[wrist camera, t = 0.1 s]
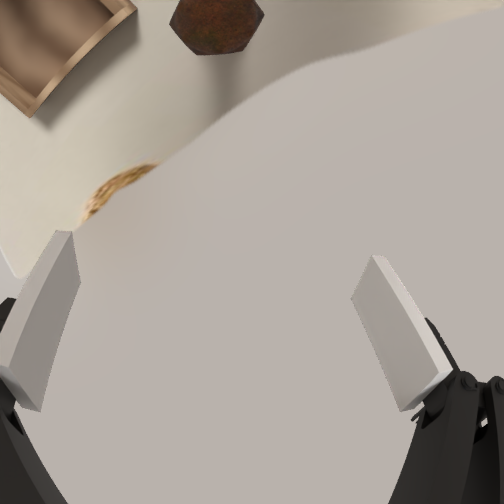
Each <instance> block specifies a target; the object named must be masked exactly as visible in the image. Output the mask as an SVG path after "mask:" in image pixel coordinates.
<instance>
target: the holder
mask: <svg viewBox="0 0 504 504" xmlns="http://www.w3.org/2000/svg"><path fill="white" fill-rule="evenodd" d="M135 10H137V7H136V6H135V5H134V4H133V3H132V2H131V1H130V0H0V93H1V94H2V95H3V96H4V97H5V98H7V99H8V100H9V101H10V102H11V103H12V104H13V105H15V106H16V107H17V108H18V109H19V110H20V111H22V112H23V113H24V114H25V115H26V116H27V117H29V118H31V117H32V115H33V114H34V113H35V112H36V110H37V109H38V108H39V107H40V106H41V105H42V103H43V102H44V101H45V100H46V98H47V97H48V96H49V95H50V94H51V92H52V91H53V90H54V89H55V88H56V87H57V85H58V84H59V83H60V82H61V81H62V80H63V79H64V77H65V76H66V75H67V74H68V73H69V72H70V71H71V70H72V69H73V68H74V67H75V66H76V65H77V64H78V62H79V61H80V60H81V59H82V58H83V57H84V56H85V55H86V54H87V53H88V52H89V51H90V50H91V49H92V48H93V47H94V46H96V45H97V44H98V43H99V42H100V41H101V40H102V39H103V38H104V37H105V36H106V35H107V34H108V33H110V32H111V31H112V30H113V29H114V28H115V27H116V26H117V25H119V24H120V23H121V22H122V21H123V20H124V19H126V18H127V17H128V16H129V15H131V14H132V13H133V12H134V11H135Z"/></svg>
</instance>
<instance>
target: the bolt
mask: <svg viewBox="0 0 504 504" xmlns="http://www.w3.org/2000/svg"><path fill="white" fill-rule="evenodd" d="M263 17H264V13H263V11H262V10H261V8H260V7H259V6H258V4H257V3H256V2H255V0H180V1H179V3H178V5H177V7H176V10H175V12H174V14H173V16H172V18H171V21H170V23H169V25H170V26H171V28H172V29H173V30H174V32H175V33H176V34H177V35H178V37H179V38H180V39H181V40H182V41H183V42H184V44H185V45H186V46H187V47H188V48H189V49H190V50H191V51H193V52H194V53H195V54H196V55H218V54H229V53H235V52H240V51H243V50H244V48H245V47H246V46H247V44H248V43H249V41H250V39H251V38H252V36H253V35H254V33H255V32H256V30H257V28H258V26H259V25H260V23H261V21H262V19H263Z"/></svg>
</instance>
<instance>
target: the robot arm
mask: <svg viewBox="0 0 504 504" xmlns="http://www.w3.org/2000/svg"><path fill="white" fill-rule="evenodd" d="M80 283H81V281H80V276H79V271H78V265H77V260H76V254H75V248H74V242H73V235H72V231H58V230H56V231H55V233H54V234H53V236H52V238H51V239H50V241H49V242H48V244H47V246H46V247H45V249H44V251H43V252H42V254H41V256H40V257H39V259H38V261H37V262H36V264H35V266H34V268H33V269H32V271H31V273H30V275H29V277H28V278H27V280H26V282H25V284H24V286H23V288H22V290H21V292H20V294H19V296H18V298H17V299H14V298H7V299H6V300H5V301H3V303H1V304H0V504H68V503H67V502H66V500H65V499H64V497H63V496H62V494H61V493H60V492H59V490H58V488H57V487H56V485H55V484H54V482H53V480H52V479H51V477H50V476H49V474H48V472H47V471H46V469H45V467H44V465H43V464H42V462H41V460H40V458H39V457H38V455H37V453H36V451H35V449H34V448H33V446H32V444H31V442H30V440H29V438H28V436H27V434H26V432H25V430H24V427H23V425H22V423H21V421H20V419H19V417H18V415H17V412H16V411H15V409H14V405H15V401H17V402H18V403H19V404H20V406H21V407H22V408H26V409H30V410H34V411H38V412H40V411H41V407H42V403H43V399H44V394H45V391H46V387H47V383H48V379H49V376H50V372H51V368H52V365H53V361H54V358H55V355H56V351H57V348H58V345H59V342H60V339H61V336H62V333H63V330H64V327H65V324H66V321H67V318H68V315H69V312H70V309H71V307H72V304H73V301H74V299H75V296H76V294H77V291H78V288H79V286H80ZM351 300H352V302H353V304H354V306H355V308H356V311H357V313H358V315H359V317H360V319H361V321H362V324H363V326H364V328H365V330H366V332H367V335H368V337H369V339H370V341H371V343H372V346H373V348H374V350H375V353H376V355H377V357H378V360H379V362H380V364H381V367H382V369H383V371H384V374H385V376H386V378H387V381H388V383H389V386H390V388H391V390H392V392H393V395H394V398H395V400H396V402H397V405H398V408H399V410H400V412H402V411H406V410H410V409H414V408H415V407H416V406H417V405H418V404H420V403H421V401H423V403H424V405H425V406H424V407H423V408H422V409H421V410H420V411H419V412H418V413H416V414H415V415H414V416H413V417H412V419H411V421H414V420H415V419H416V418H417V417H418V416H419V419H418V421H417V422H416V423H417V426H416V429H415V432H414V436H413V439H412V442H411V445H410V448H409V451H408V454H407V457H406V460H405V463H404V465H403V468H402V471H401V474H400V476H399V479H398V482H397V484H396V486H395V489H394V491H393V494H392V496H391V498H390V501H389V503H388V504H504V379H503V378H501V377H499V376H494V377H492V378H491V379H490V380H489V381H488V382H487V383H482V382H477V380H476V379H475V377H474V376H473V375H472V374H470V373H469V372H466V371H460V369H459V368H458V366H457V364H456V362H455V360H454V358H453V357H452V355H451V353H450V351H449V350H448V348H447V346H446V345H445V344H444V343H445V342H444V341H443V339H442V337H440V334H439V332H438V331H437V329H436V327H435V326H434V325H433V324H432V323H431V322H430V321H429V320H428V319H427V318H424V317H423V316H422V314H421V313H420V311H419V309H418V307H417V306H416V304H415V303H414V301H413V299H412V298H411V296H410V295H409V293H408V291H407V290H406V288H405V287H404V285H403V284H402V282H401V281H400V279H399V277H398V276H397V274H396V273H395V271H394V270H393V268H392V267H391V266H390V264H389V262H388V261H387V259H386V258H385V257H384V256H374V255H372V256H371V257H370V260H369V262H368V264H367V266H366V268H365V270H364V272H363V275H362V277H361V279H360V281H359V283H358V285H357V287H356V289H355V291H354V294H353V295H352V297H351ZM485 418H487V421H488V424H486V425H485V426H484V427H482V425H481V422H482V421H483V420H484V419H485Z"/></svg>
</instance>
